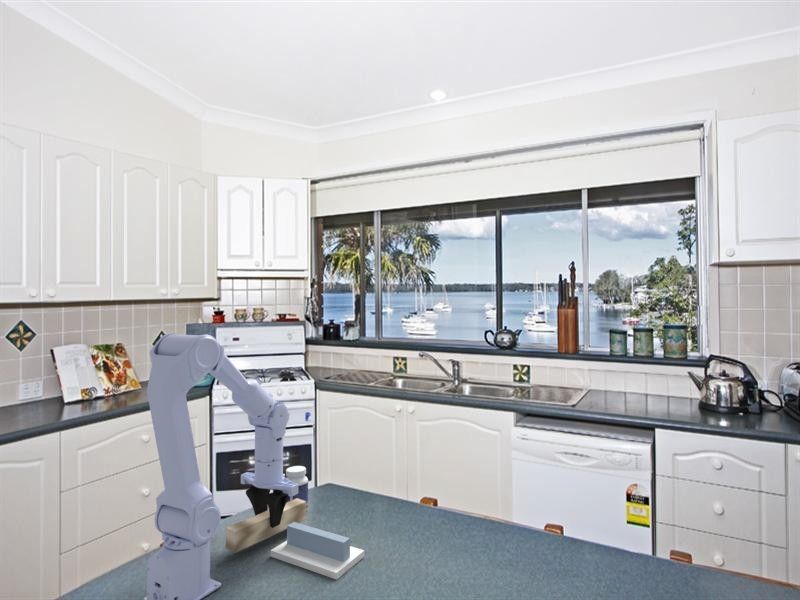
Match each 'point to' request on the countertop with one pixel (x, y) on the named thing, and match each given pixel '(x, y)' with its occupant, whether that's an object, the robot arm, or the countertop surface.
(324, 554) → the ridge stand
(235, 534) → the beam
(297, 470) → the pill bottle
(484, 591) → the countertop surface
